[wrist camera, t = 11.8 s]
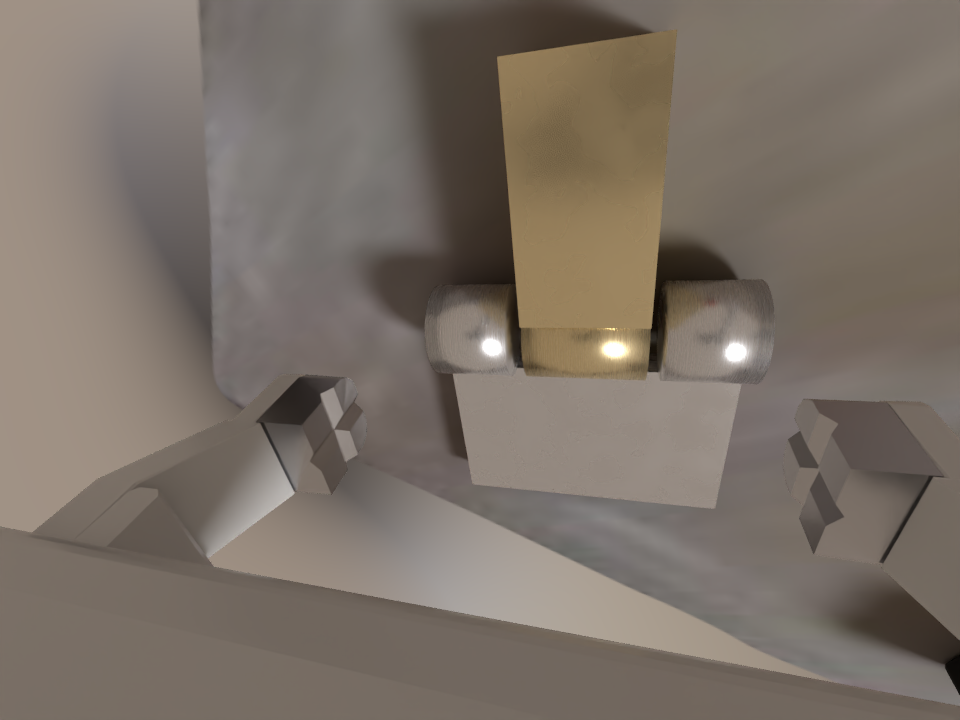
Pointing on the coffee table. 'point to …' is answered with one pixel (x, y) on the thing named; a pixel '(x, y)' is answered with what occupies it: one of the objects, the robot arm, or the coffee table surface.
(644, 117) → the gold bar
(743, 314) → the plate with metal balls
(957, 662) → the battery
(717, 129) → the coffee table surface
